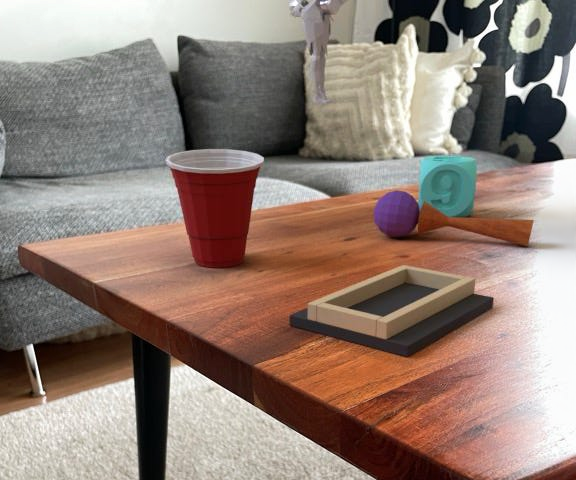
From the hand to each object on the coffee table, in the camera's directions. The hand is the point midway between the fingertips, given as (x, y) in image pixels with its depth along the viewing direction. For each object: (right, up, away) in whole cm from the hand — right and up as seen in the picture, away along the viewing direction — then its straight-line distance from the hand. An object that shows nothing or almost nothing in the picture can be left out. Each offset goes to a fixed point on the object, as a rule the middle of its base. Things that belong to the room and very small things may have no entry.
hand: (311, 11), depth 84 cm
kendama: (+18, -25, +10) cm, 32 cm away
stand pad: (+7, -37, -18) cm, 42 cm away
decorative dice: (+21, -18, +26) cm, 38 cm away
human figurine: (+1, -9, +5) cm, 10 cm away
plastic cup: (-11, -29, 0) cm, 31 cm away
